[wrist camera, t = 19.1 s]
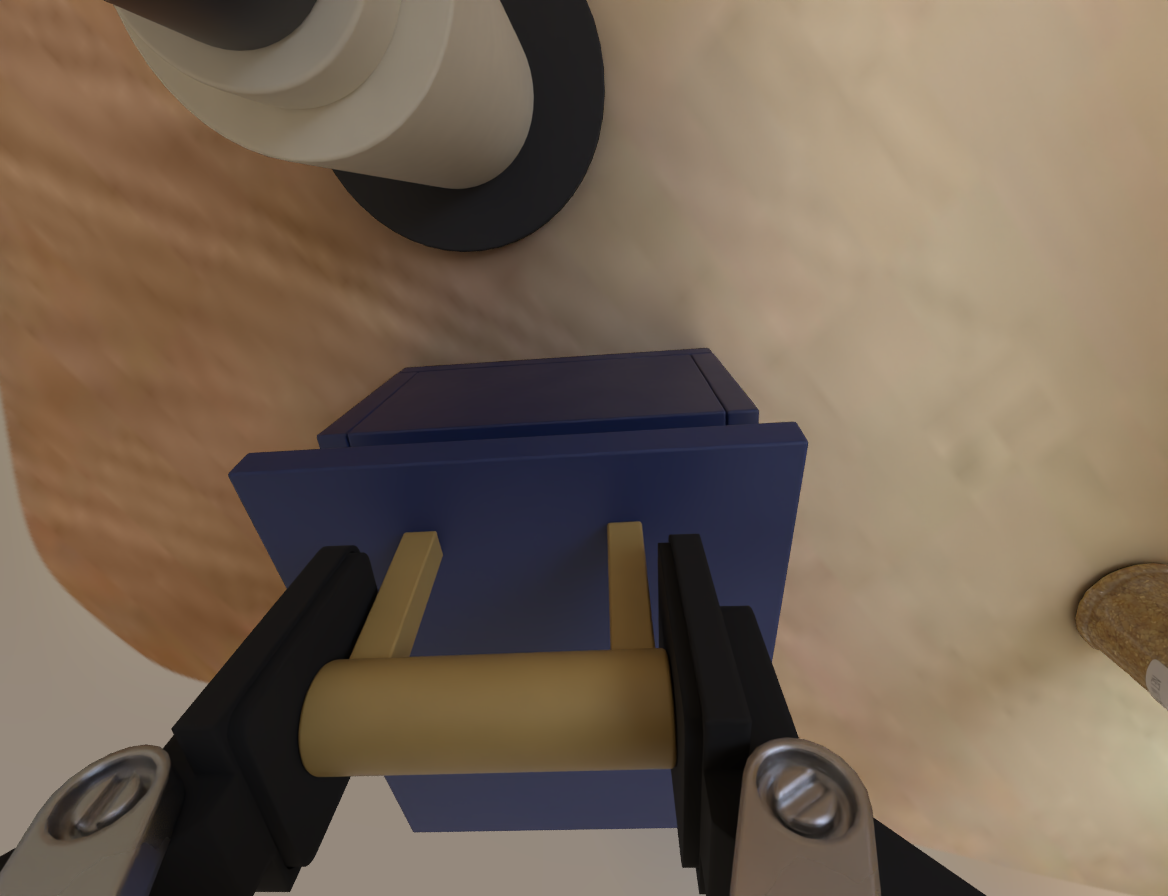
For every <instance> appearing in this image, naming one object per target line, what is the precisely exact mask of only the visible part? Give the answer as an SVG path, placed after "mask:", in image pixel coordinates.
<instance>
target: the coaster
mask: <svg viewBox="0 0 1168 896" xmlns="http://www.w3.org/2000/svg"><path fill="white" fill-rule="evenodd" d="M500 2H501V4H502V6H503V8H504V10H505V12H506V14H507V16H508V18H509V21H510V23H511V25H512V27H513V29H514V31H515V33H516V35H517V37H518V40H519V42H520V44H521V46H522V48H523V51H524V53H525V55H526V58H527V61H528V64H529V68H530V71H531V77H532V82H533V94H534V102H533V114H532V120H531V125H530V128H529V132H528V135H527V137H526V140H525V142H524V145H523V146H522V148H521V150H520V152H519V153H518V155H517V156H516V158H515V159H514V160H513V162H512V163H511V164H510V165H509V166H508V167H507V168H506V169H505V170H504V171H503V172H502V173H500V174H499V175H498V176H496V177H495V178H493V179H492V180H490V181H488V182H486V183H484V184H481V185H478V186H475V187H470V188H464V189H450V188H442V187H436V186H430V185H424V184H418V183H412V182H407V181H401V180H395V179H389V178H383V177H377V176H371V175H365V174H360V173H354V172H348V171H342V170H336V169H332V170H333V171H334V173H335V175H336V176H337V177H338V179H339V180H340V181H341V183H342V184H343V186H344V187H345V188H346V190H347V191H348V192H349V193H350V194H351V195H352V197H353V198H354V199H355V200H356V201H357V202H358V203H359V204H360V205H361V206H362V207H363V208H364V209H365V210H366V211H367V212H369V213H370V214H371V215H372V216H373V217H374V218H375V219H377V220H378V221H379V222H381V223H382V224H384V225H385V226H387V227H388V228H390V229H391V230H393V231H394V232H396V233H398V234H400V235H402V236H404V237H406V238H408V239H410V240H412V241H415V242H417V243H420V244H423V245H426V246H429V247H433V248H438V249H442V250H447V251H459V252H471V251H484V250H489V249H494V248H499V247H502V246H505V245H508V244H510V243H513V242H516V241H518V240H520V239H522V238H524V237H526V236H528V235H530V234H532V233H534V232H535V231H536V230H538V229H539V228H541V227H542V226H543V225H545V224H546V223H548V222H549V221H550V220H551V219H552V218H553V217H554V216H555V215H556V214H557V213H558V212H559V211H560V210H561V209H562V208H563V207H564V206H565V204H566V203H567V202H568V201H569V200H570V198H571V197H572V196H573V195H574V193H575V191H576V190H577V188H578V186H579V185H580V183H581V182H582V180H583V178H584V176H585V174H586V172H587V170H588V168H589V165H590V163H591V161H592V159H593V155H594V152H595V149H596V146H597V143H598V140H599V135H600V130H601V125H602V120H603V110H604V97H605V86H604V66H603V59H602V52H601V45H600V41H599V37H598V33H597V29H596V25H595V22H594V19H593V16H592V14H591V11H590V8H589V6H588V3H587V1H586V0H500Z"/></svg>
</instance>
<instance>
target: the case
mask: <svg viewBox="0 0 1168 896" xmlns="http://www.w3.org/2000/svg"><path fill="white" fill-rule="evenodd" d="M758 423H759V410H758V408H757V407H756V406H755V405H754V403H753V402H752V401H751V400H750V398H749V397H748V396H747V395H746V393H745V392H744V391H743V390H742V388H741V387H740V386H739V385H738V383H737V382H736V381H735V380H734V378H733V377H732V376H731V375H730V374H729V372H728V371H727V370H726V369H725V367H724V366H723V365H722V364H721V362H720V361H719V360H718V359H717V357H716V356H715V355H714V354H713V353H712V351H711V350H710V349H709V348H699V349H683V350H668V351H653V352H638V353H622V354H607V355H592V356H577V357H561V358H546V359H531V360H516V361H500V362H485V363H470V364H455V365H439V366H424V367H409V368H404V369H403V370H402V371H400V372H399V373H397V374H396V375H394V376H393V377H392V378H391V379H389V380H388V381H387V382H385V383H384V384H383V385H382V386H380V387H379V388H378V389H376V390H375V391H374V392H372V393H371V394H370V395H369V396H367V397H366V398H365V399H363V400H362V401H361V402H360V403H358V404H357V405H356V406H354V407H353V408H352V409H351V410H349V411H348V412H347V413H345V414H344V415H343V416H342V417H340V418H339V419H338V420H336V421H335V422H334V423H332V424H331V425H330V426H329V427H327V428H326V429H325V430H323V431H322V432H321V433H320V434H318V435H317V440H318V444H319V447H320V449H329V448H346V447H363V446H381V445H398V444H415V443H433V442H450V441H467V440H485V439H502V438H519V437H537V436H554V435H571V434H589V433H606V432H623V431H640V430H658V429H675V428H692V427H710V426H727V425H744V424H758Z"/></svg>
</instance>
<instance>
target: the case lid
mask: <svg viewBox="0 0 1168 896" xmlns="http://www.w3.org/2000/svg"><path fill="white" fill-rule="evenodd" d="M807 448H808V441H807V439H806V437H805V436H804V434H803V433H802V431H801V429H800V428H799V426H798V424H797V423H796V422H779V423H762V424H744V425H727V426H710V427H692V428H675V429H658V430H640V431H623V432H606V433H589V434H571V435H554V436H537V437H519V438H502V439H485V440H467V441H450V442H433V443H415V444H398V445H381V446H363V447H346V448H329V449H311V450H294V451H277V452H259V453H249V454H247V455H246V456H245V457H244V458H243V459H242V460H241V461H240V462H239V463H238V464H237V465H236V466H235V467H234V468H233V469H232V470H231V471H230V472H229V474H228V477H229V479H230V480H231V482H232V484H233V486H234V488H235V490H236V492H237V494H238V496H239V498H240V500H241V502H242V504H243V505H244V507H245V509H246V511H247V513H248V515H249V517H250V519H251V521H252V523H253V525H254V527H255V529H256V530H257V532H258V534H259V536H260V538H261V540H262V542H263V544H264V546H265V548H266V550H267V552H268V554H269V555H270V557H271V559H272V561H273V563H274V565H275V567H276V569H277V571H278V573H279V575H280V577H281V579H282V580H283V582H284V584H285V586H286V588H288V587H289V586H290V585H291V584H292V582H293V581H294V580H295V579H296V577H297V576H298V575H299V574H300V573H301V571H302V570H303V569H304V568H305V567H306V565H307V564H308V563H309V562H310V561H311V559H312V558H313V557H314V556H315V555H316V553H317V552H318V551H319V550H320V549H321V548H322V547H325V546H342V545H355V546H357V547H358V549H359V550H360V552H364V553H366V554H367V555H368V557H369V559H370V563H371V567H372V570H373V574H374V578H375V582H376V585H377V589H378V594H377V596H376V598H375V601H374V603H373V605H372V608H371V610H370V612H369V614H368V617H367V619H366V621H365V624H364V626H363V628H362V630H361V633H360V635H359V637H358V640H357V642H356V644H355V646H354V649H353V651H352V653H351V656H350V658H349V659H337V660H333V661H331V662H329V663H327V664H325V665H324V666H323V667H322V668H321V669H320V670H319V671H318V673H317V674H316V675H315V677H314V679H313V680H312V682H311V684H310V686H309V689H308V691H307V694H306V696H305V699H304V703H303V706H302V710H301V715H300V721H299V732H298V743H299V753H300V757H301V761H302V764H303V766H304V768H305V769H306V770H307V772H309V773H310V774H311V775H313V776H316V777H345V776H384V777H385V779H386V780H387V782H388V784H389V786H390V788H391V790H392V792H393V794H394V796H395V798H396V800H397V802H398V804H399V805H400V807H401V809H402V811H403V813H404V815H405V817H406V819H407V821H408V823H409V825H410V826H411V829H412V830H413V832H461V831H463V832H464V831H520V830H576V829H636V828H677V820H676V811H675V802H674V793H673V784H672V775H671V769H672V768H674V767H675V765H676V761H677V736H676V720H675V707H674V696H673V687H672V678H671V671H670V664H669V659H668V655H667V652H666V650H665V649H663V648H659V624H658V543H668V539H669V535H671V534H700V537H701V541H702V544H703V548H704V551H705V555H706V558H707V562H708V566H709V569H710V573H711V576H712V580H713V584H714V587H715V591H716V594H717V598H718V601H719V605H720V606H746V605H749V606H750V607H751V608H752V610H753V612H754V614H755V617H756V620H757V623H758V626H759V628H760V631H761V634H762V637H763V640H764V642H765V645H766V648H767V651H768V654H769V656H770V659H771V662H772V658H773V652H774V646H775V640H776V634H777V628H778V622H779V616H780V610H781V604H782V598H783V592H784V586H785V580H786V574H787V568H788V562H789V556H790V550H791V544H792V538H793V532H794V526H795V520H796V514H797V508H798V502H799V496H800V490H801V484H802V478H803V472H804V466H805V460H806V454H807Z"/></svg>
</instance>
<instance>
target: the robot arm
mask: <svg viewBox="0 0 1168 896" xmlns="http://www.w3.org/2000/svg"><path fill="white" fill-rule="evenodd" d="M377 594H378V589H377V585H376V582H375V578H374V574H373V570H372V567H371V563H370V559H369V557H368V555H367V554H366V553H364V552H360V550H359V549H358V547H357V546H355V545H342V546H325V547H322V548H321V549H320V550H319V551H318V552H317V553H316V555H315V556H314V557H313V558H312V559H311V561H310V562H309V563H308V564H307V565H306V567H305V568H304V569H303V570H302V571H301V573H300V574H299V575H298V576H297V577H296V579H295V580H294V581H293V582H292V584H291V585H290V586H289V587H288V588H287V590H286V591H285V592H284V593H283V594H282V596H281V597H280V598H279V599H278V600H277V602H276V603H275V604H274V605H273V606H272V608H271V609H270V610H269V611H268V613H267V614H266V615H265V616H264V617H263V619H262V620H261V621H260V622H259V623H258V625H257V626H256V627H255V628H254V629H253V631H252V632H251V633H250V634H249V635H248V637H247V638H246V639H245V640H244V642H243V643H242V644H241V645H240V646H239V648H238V649H237V650H236V651H235V652H234V654H233V655H232V656H231V657H230V658H229V660H228V661H227V662H226V663H225V664H224V666H223V667H222V668H221V669H220V671H219V672H218V673H217V674H216V675H215V677H214V678H213V679H212V680H211V681H210V683H209V684H208V685H207V686H206V687H205V689H204V690H203V691H202V692H201V694H200V695H199V696H198V697H197V698H196V700H195V701H194V702H193V703H192V704H191V706H190V707H189V708H188V709H187V710H186V712H185V713H184V714H183V715H182V716H181V718H180V719H179V720H178V721H177V723H176V724H175V725H174V726H173V727H172V731H173V734H174V735H173V737H172V738H171V739H170V741H169V742H168V743H167V744H166V745H165V747H164V748H163V749H162V748H161V747H158V746H153V745H140V746H133V747H128V748H125V749H122V750H119V751H117V752H114V753H111V754H109V755H107V756H105V757H103V758H101V759H99V760H97V761H95V762H93V763H91V764H90V765H88V766H87V767H85V768H84V769H82V770H81V771H80V772H78V773H77V774H75V775H74V776H72V777H71V778H70V779H68V780H67V781H66V782H65V783H64V784H63V785H62V786H61V787H60V788H59V789H58V790H57V791H55V792H54V793H53V794H52V795H51V797H50V798H49V799H48V800H47V802H46V803H45V804H44V806H43V807H42V808H41V809H40V811H39V812H38V813H37V815H36V817H35V818H34V820H33V821H32V823H31V824H30V826H29V828H28V829H27V831H26V832H25V834H24V836H23V837H22V839H21V841H20V842H19V844H18V845H17V847H16V848H15V849H13V850H11V851H9V852H8V853H6V854H4V855H2V856H0V896H253V895H254V893H255V892H290V891H291V889H292V887H293V884H294V882H295V880H296V878H297V876H298V873H299V871H300V869H301V867H306V866H307V865H309V864H310V863H311V862H312V860H313V859H314V857H315V855H316V853H317V851H318V848H319V846H320V844H321V842H322V840H323V838H324V835H325V833H326V831H327V829H328V826H329V824H330V822H331V820H332V817H333V815H334V813H335V811H336V808H337V806H338V804H339V802H340V799H341V797H342V795H343V792H344V790H345V788H346V786H347V784H348V781H349V779H350V777H351V776H345V777H316V776H313V775H311V774H310V773H309V772H307V770H306V769H305V768H304V766H303V764H302V761H301V757H300V753H299V743H298V732H299V721H300V715H301V710H302V706H303V703H304V699H305V696H306V694H307V691H308V689H309V686H310V684H311V682H312V680H313V679H314V677H315V675H316V674H317V673H318V671H319V670H320V669H321V668H322V667H323V666H324V665H325V664H327V663H329V662H331V661H333V660H337V659H349V658H350V656H351V653H352V651H353V649H354V646H355V644H356V642H357V640H358V637H359V635H360V633H361V630H362V628H363V626H364V624H365V621H366V619H367V617H368V614H369V612H370V610H371V608H372V605H373V603H374V601H375V598H376V596H377ZM658 624H659V648H663V649H665V650H666V652H667V655H668V659H669V664H670V671H671V678H672V687H673V696H674V707H675V720H676V736H677V761H676V765H675V767H674V768H672V769H671V775H672V784H673V793H674V802H675V811H676V820H677V829H678V837H679V847H680V855H681V863H682V867H683V868H696V873H697V880H698V887H699V894H706V896H986V895H985V894H983V893H982V892H980V891H979V890H977V889H976V888H974V887H973V886H971V885H970V884H969V883H967V882H966V881H964V880H963V879H961V878H960V877H959V876H957V875H956V874H954V873H953V872H951V871H950V870H948V869H947V868H946V867H944V866H942V865H941V864H940V863H938V862H937V861H935V860H934V859H932V858H931V857H930V856H928V855H927V854H925V853H924V852H922V851H921V850H919V849H918V848H917V847H915V846H914V845H912V844H911V843H909V842H908V841H906V840H905V839H904V838H902V837H901V836H899V835H898V834H896V833H895V832H893V831H892V830H891V829H889V828H888V827H886V826H885V825H883V824H882V823H880V822H879V821H878V820H876V819H875V818H873V812H872V806H871V803H870V799H869V796H868V792H867V789H866V788H865V786H864V784H863V783H862V781H861V779H860V778H859V776H858V775H857V773H856V772H855V771H854V770H853V769H852V768H851V767H850V766H849V765H848V764H847V763H846V762H845V761H844V760H843V759H842V758H841V757H840V756H838V755H837V754H835V753H833V752H832V751H830V750H829V749H827V748H826V747H824V746H822V745H819V744H816V743H814V742H811V741H808V740H806V739H799V737H798V735H797V732H796V729H795V726H794V723H793V721H792V718H791V715H790V712H789V709H788V707H787V704H786V701H785V698H784V695H783V693H782V690H781V687H780V684H779V681H778V679H777V676H776V673H775V670H774V668H773V665H772V662H771V659H770V656H769V654H768V651H767V648H766V645H765V642H764V640H763V637H762V634H761V631H760V628H759V626H758V623H757V620H756V617H755V614H754V612H753V610H752V608H751V607H750V606H749V605H746V606H720V605H719V601H718V598H717V594H716V591H715V587H714V584H713V580H712V576H711V573H710V569H709V566H708V562H707V558H706V555H705V551H704V548H703V544H702V541H701V537H700V534H671V535H669V539H668V543H658Z"/></svg>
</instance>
